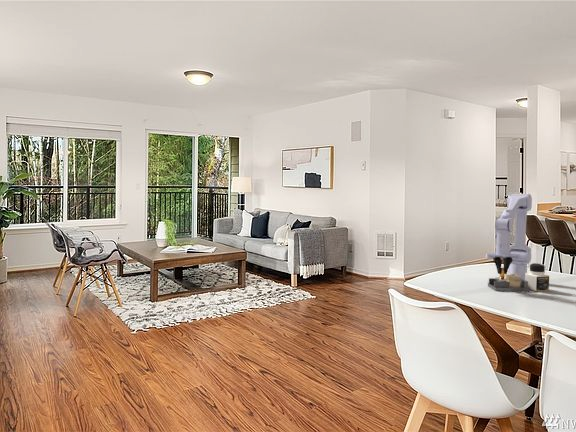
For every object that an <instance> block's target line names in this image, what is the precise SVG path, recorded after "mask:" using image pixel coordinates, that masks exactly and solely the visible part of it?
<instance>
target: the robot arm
mask: <svg viewBox="0 0 576 432" xmlns="http://www.w3.org/2000/svg"><path fill="white" fill-rule="evenodd" d="M506 201H507V205H508V207H507V208H506V209H504V210H503V211H502V214H501V216H500V217H499V218H497V219H495V223H494V229H495V235H496V243H495V252H492V253H491V252H490V253H487V252H486V253H485V258H486V259H492V260H493V263H494V265H495V267H496V271H497V274H498V275H500V274H501V268H502V264H503V268H505V274H517V275H519V276H520V278H522V279H524V280H525V274H526V273H528V264H529V263H531V261H532V249H531V247H530V246H529V245H527V244H526V233H527V218H528V212H529V211H531V210H532V205H533V204H532V202H533V198H532V195H531V194H530V193H509V194H508V196H507V199H506ZM514 221H515V230H514V243H513V244H511V232H512V230H513V228H514V227H513V226H514Z"/></svg>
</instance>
